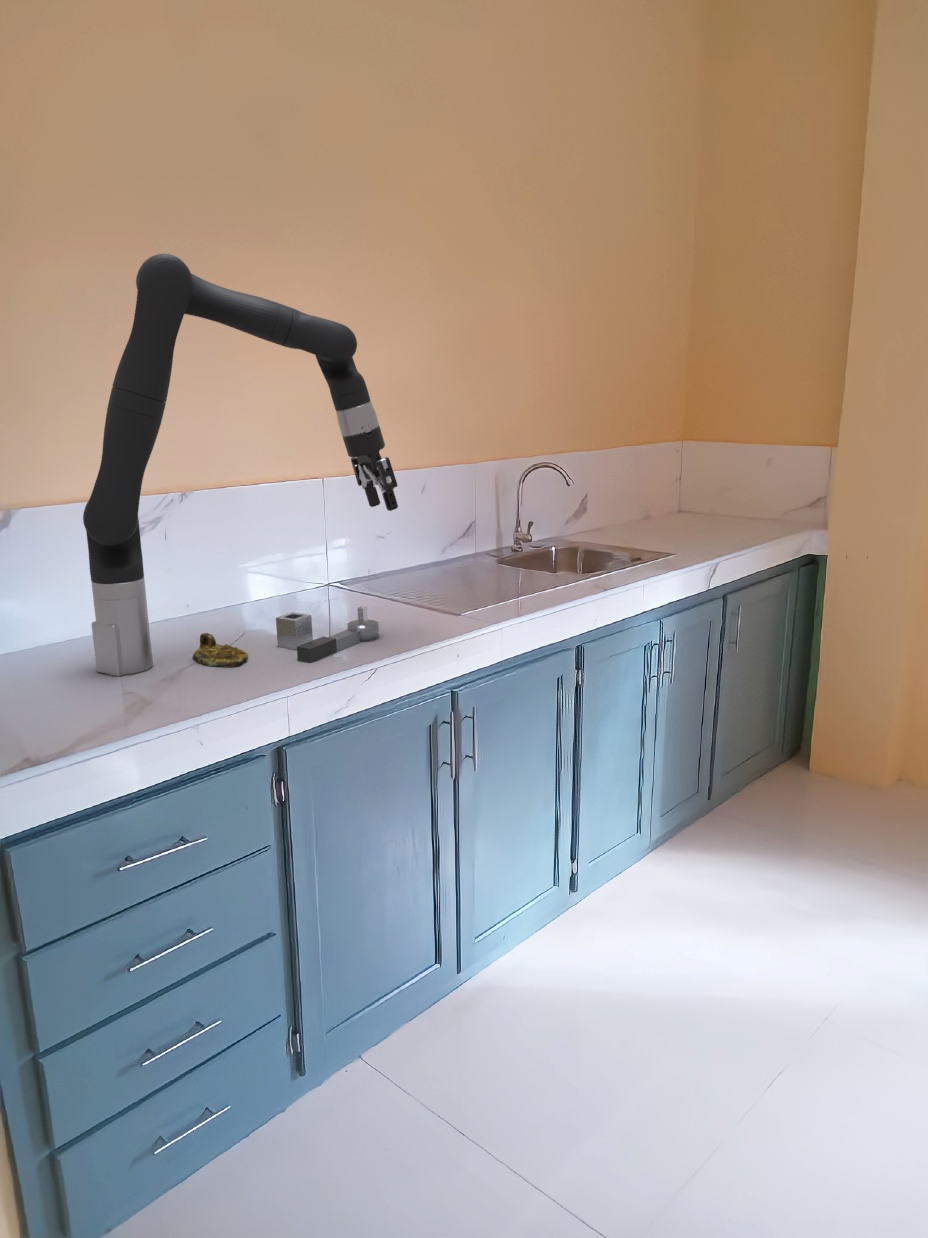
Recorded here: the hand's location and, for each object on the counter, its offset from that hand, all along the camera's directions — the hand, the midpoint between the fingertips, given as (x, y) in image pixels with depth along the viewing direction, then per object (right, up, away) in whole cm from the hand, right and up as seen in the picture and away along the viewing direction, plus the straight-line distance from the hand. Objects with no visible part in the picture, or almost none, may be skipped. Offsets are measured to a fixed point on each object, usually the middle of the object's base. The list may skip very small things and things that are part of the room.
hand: (384, 507), depth 188 cm
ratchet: (-9, -28, +1) cm, 29 cm away
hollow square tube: (-18, -28, +3) cm, 33 cm away
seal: (-31, -30, -5) cm, 44 cm away
